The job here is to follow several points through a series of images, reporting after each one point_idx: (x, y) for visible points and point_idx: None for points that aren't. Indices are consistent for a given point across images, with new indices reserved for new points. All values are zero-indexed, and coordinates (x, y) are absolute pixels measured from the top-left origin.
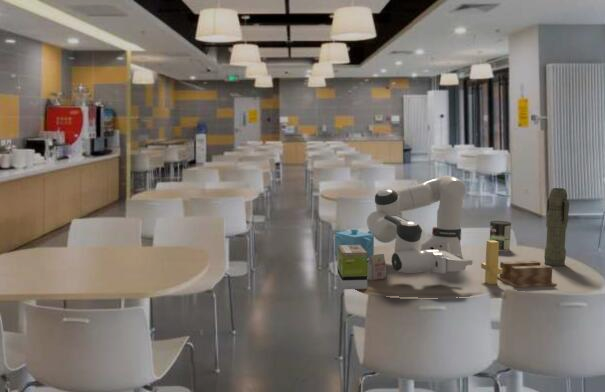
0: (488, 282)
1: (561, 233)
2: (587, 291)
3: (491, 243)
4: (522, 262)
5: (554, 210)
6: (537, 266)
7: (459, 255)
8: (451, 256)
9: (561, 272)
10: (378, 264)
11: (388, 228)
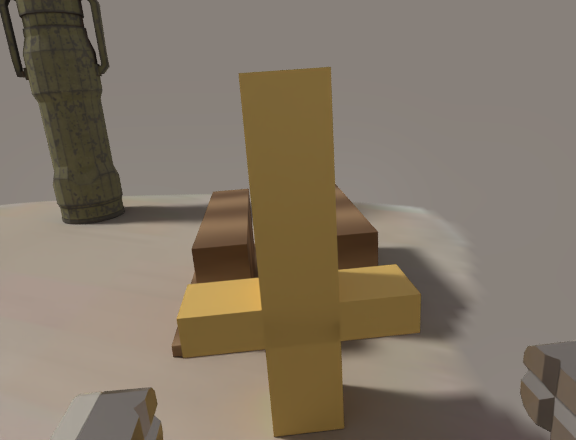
0: (332, 420)
1: (101, 110)
2: (417, 216)
3: (328, 80)
4: (233, 209)
5: (64, 28)
6: None
7: (135, 415)
8: None
9: (187, 218)
10: None
11: None
